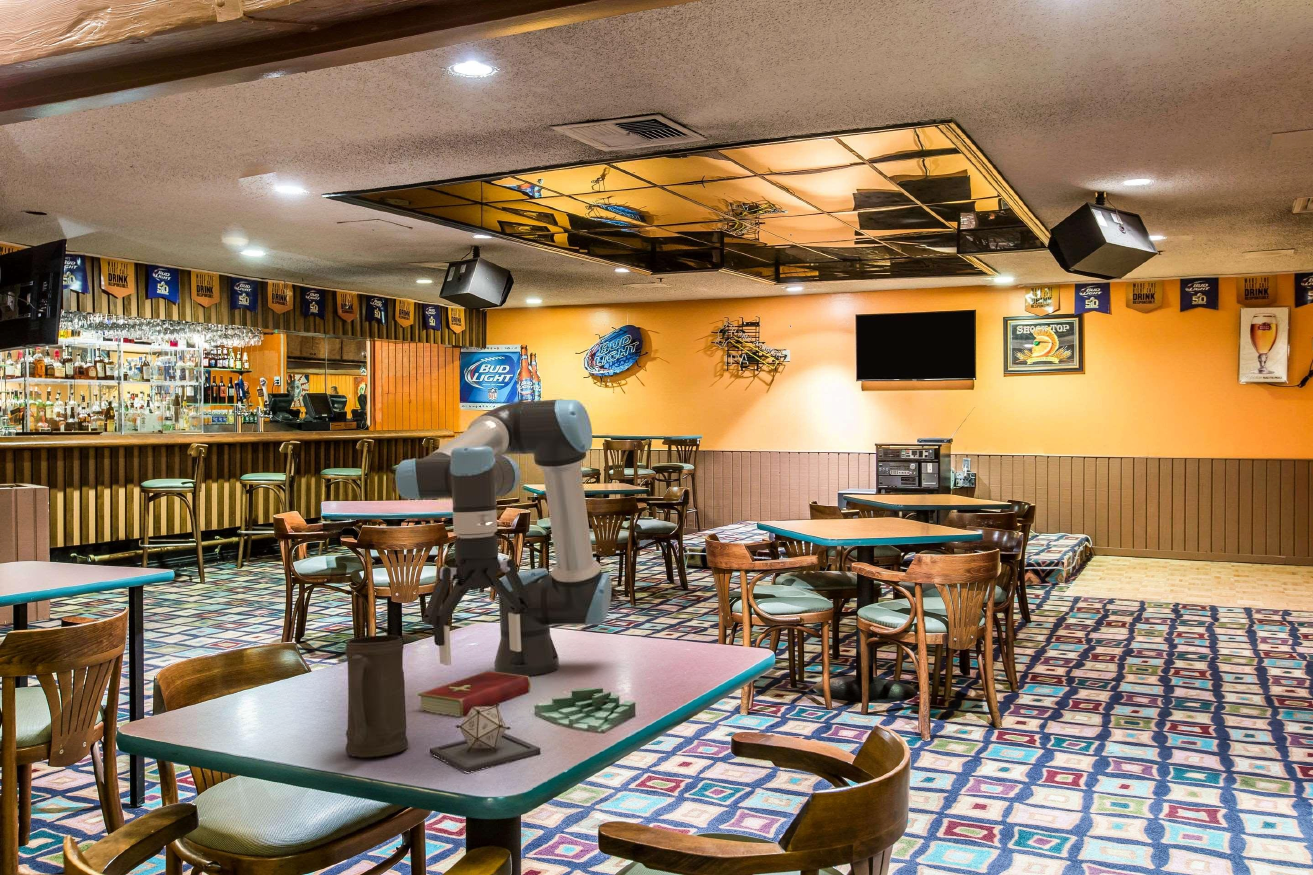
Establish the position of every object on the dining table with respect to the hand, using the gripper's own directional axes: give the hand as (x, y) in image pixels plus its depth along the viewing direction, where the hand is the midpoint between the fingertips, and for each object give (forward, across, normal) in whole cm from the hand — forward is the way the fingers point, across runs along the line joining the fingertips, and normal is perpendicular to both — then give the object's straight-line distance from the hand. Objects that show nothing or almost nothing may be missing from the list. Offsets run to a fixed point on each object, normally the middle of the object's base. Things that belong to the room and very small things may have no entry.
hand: (481, 657), depth 173 cm
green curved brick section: (+18, +24, +7) cm, 31 cm away
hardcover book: (+18, +15, +33) cm, 40 cm away
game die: (+16, 0, 0) cm, 16 cm away
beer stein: (+17, -14, +14) cm, 26 cm away
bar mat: (+17, 0, 0) cm, 17 cm away
